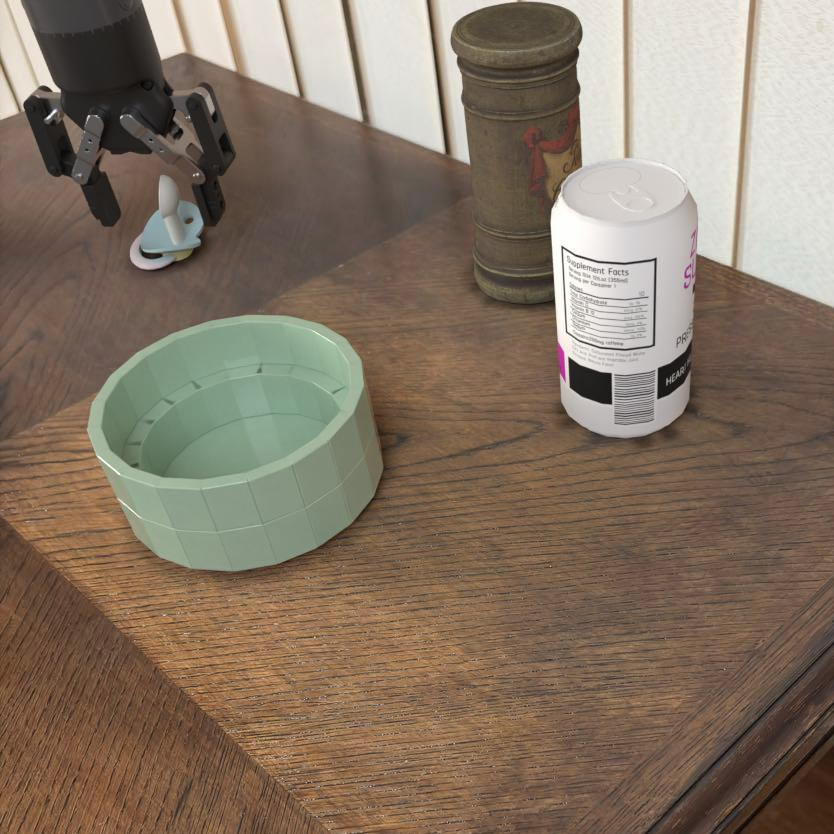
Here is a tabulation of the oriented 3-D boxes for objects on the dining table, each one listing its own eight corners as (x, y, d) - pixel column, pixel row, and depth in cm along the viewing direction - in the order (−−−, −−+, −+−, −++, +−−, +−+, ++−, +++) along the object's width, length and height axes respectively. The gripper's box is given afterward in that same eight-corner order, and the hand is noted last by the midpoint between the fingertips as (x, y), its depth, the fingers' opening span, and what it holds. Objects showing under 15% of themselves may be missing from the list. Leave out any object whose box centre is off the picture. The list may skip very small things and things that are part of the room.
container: (465, 304, 78) (431, 54, 65) (486, 239, 84) (459, -2, 71) (587, 307, 77) (578, 53, 64) (599, 241, 83) (593, -4, 70)
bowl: (88, 568, 62) (39, 481, 57) (184, 398, 72) (151, 311, 67) (347, 584, 60) (321, 495, 55) (408, 406, 70) (390, 317, 65)
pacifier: (128, 282, 83) (204, 269, 83) (96, 210, 79) (176, 196, 79) (138, 234, 88) (210, 222, 88) (108, 163, 84) (184, 151, 84)
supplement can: (539, 390, 71) (523, 179, 60) (646, 350, 73) (649, 139, 62) (600, 461, 65) (594, 244, 55) (713, 415, 68) (729, 198, 57)
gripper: (202, -18, 74) (263, 197, 85) (13, -12, 76) (98, 197, 88) (162, 25, 69) (233, 248, 80) (-39, 30, 71) (58, 247, 82)
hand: (163, 221), depth 84 cm, fingers open, 8 cm apart
